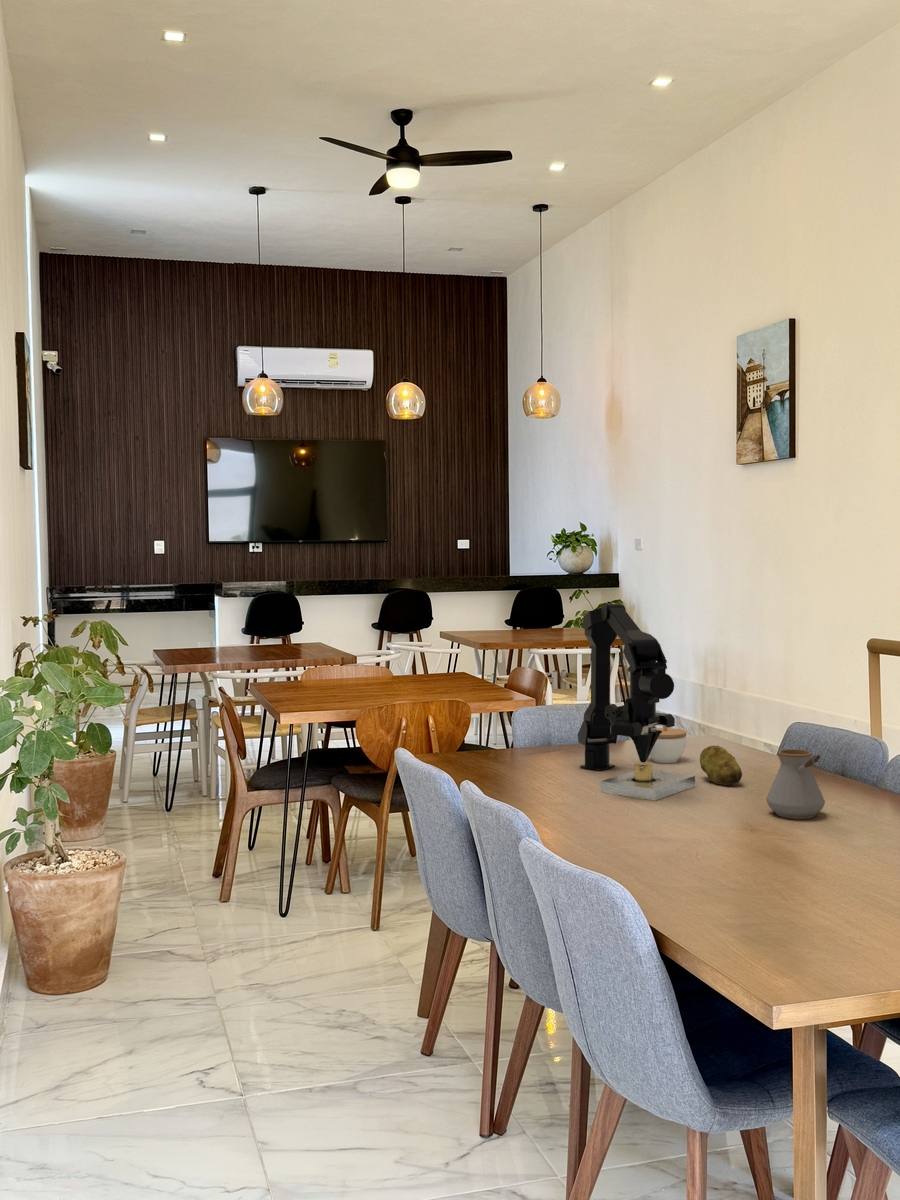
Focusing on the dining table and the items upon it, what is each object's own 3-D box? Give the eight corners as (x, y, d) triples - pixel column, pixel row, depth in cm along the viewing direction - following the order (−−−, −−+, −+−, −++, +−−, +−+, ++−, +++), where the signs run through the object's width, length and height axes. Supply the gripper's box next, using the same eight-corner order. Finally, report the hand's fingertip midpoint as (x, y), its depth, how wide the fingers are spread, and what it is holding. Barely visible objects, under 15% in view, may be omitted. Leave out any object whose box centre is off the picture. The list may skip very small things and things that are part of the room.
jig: (642, 778, 259) (642, 768, 259) (695, 786, 250) (695, 775, 250) (600, 792, 245) (600, 781, 245) (654, 800, 236) (654, 789, 236)
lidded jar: (690, 764, 275) (690, 727, 275) (648, 765, 275) (647, 728, 275) (681, 756, 286) (681, 721, 286) (641, 757, 286) (640, 722, 286)
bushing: (640, 788, 249) (640, 762, 249) (655, 790, 246) (655, 764, 246) (631, 791, 246) (631, 765, 246) (646, 793, 243) (646, 767, 243)
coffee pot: (759, 808, 228) (759, 737, 227) (814, 807, 228) (814, 736, 227) (789, 834, 207) (789, 756, 206) (849, 833, 206) (849, 755, 206)
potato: (707, 788, 248) (707, 753, 248) (697, 776, 261) (697, 743, 260) (744, 787, 248) (744, 753, 247) (732, 776, 260) (732, 743, 260)
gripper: (633, 686, 257) (634, 752, 258) (589, 695, 243) (590, 764, 244) (675, 690, 250) (676, 757, 251) (632, 699, 236) (633, 770, 237)
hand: (643, 762), depth 246 cm, fingers closed
